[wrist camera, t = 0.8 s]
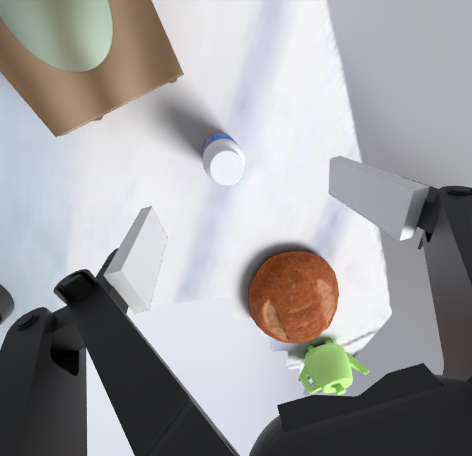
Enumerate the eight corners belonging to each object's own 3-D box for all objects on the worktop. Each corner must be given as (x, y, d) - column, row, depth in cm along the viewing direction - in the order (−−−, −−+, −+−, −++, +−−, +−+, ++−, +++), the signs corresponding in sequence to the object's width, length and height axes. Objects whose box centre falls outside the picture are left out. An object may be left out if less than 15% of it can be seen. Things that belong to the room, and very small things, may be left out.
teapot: (348, 328, 65) (377, 372, 54) (347, 348, 72) (373, 390, 61) (289, 348, 65) (307, 395, 54) (294, 366, 72) (311, 410, 62)
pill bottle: (202, 130, 29) (204, 138, 21) (238, 134, 30) (254, 144, 22) (201, 168, 32) (202, 189, 24) (234, 171, 33) (246, 192, 25)
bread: (268, 338, 61) (278, 371, 53) (226, 270, 44) (231, 303, 36) (338, 311, 59) (359, 340, 52) (323, 228, 42) (350, 254, 35)
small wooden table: (93, 129, 27) (53, 137, 20) (-14, -18, 20) (-144, -95, 12) (187, 82, 26) (182, 71, 19) (111, -91, 19) (53, -224, 11)
